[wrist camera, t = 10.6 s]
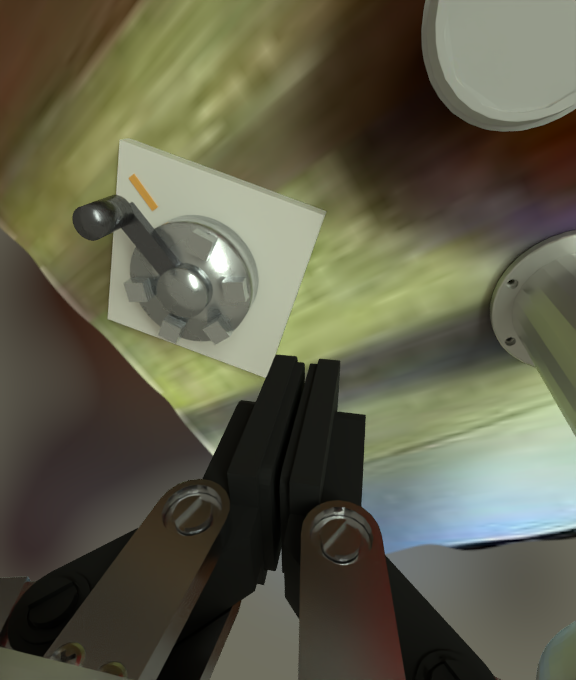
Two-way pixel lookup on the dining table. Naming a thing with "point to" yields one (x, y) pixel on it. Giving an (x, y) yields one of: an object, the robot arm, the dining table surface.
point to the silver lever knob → (180, 269)
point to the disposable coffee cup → (502, 60)
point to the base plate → (238, 214)
